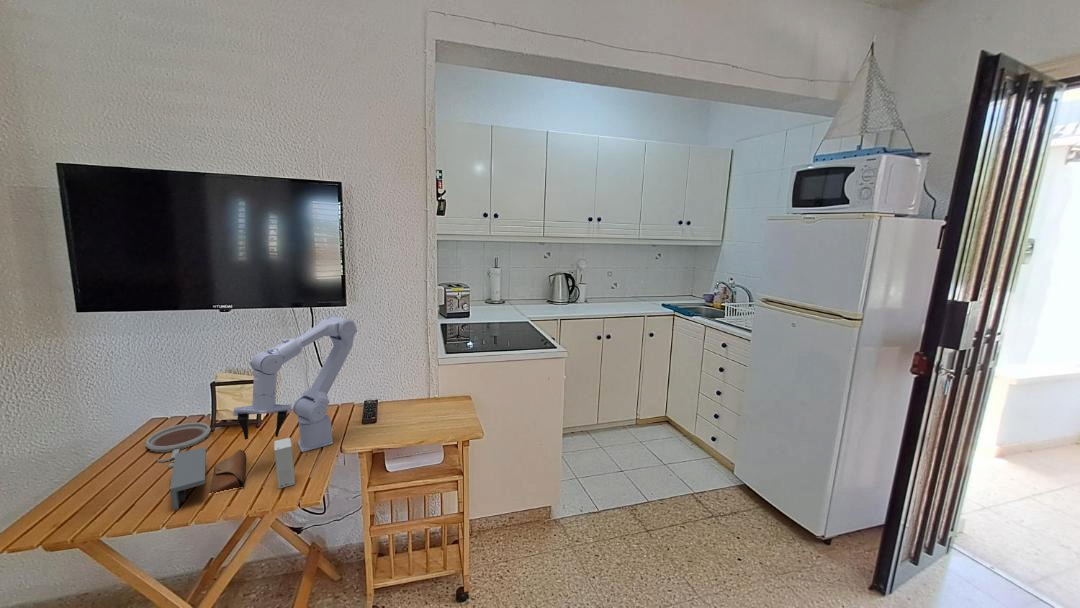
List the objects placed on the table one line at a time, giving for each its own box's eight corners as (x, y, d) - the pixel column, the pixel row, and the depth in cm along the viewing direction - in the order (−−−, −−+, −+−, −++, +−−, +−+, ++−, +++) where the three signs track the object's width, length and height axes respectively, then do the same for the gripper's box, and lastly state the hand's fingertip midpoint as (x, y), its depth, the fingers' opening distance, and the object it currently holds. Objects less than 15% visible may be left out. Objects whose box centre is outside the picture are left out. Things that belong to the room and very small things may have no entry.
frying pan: (132, 471, 124) (149, 428, 146) (133, 480, 124) (150, 436, 147) (206, 454, 133) (212, 417, 155) (207, 462, 134) (213, 424, 156)
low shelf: (208, 465, 131) (205, 446, 129) (207, 500, 115) (204, 479, 114) (178, 472, 126) (175, 453, 125) (173, 510, 111) (170, 489, 110)
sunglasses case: (212, 464, 131) (223, 444, 131) (238, 469, 135) (249, 450, 135) (206, 497, 116) (219, 474, 117) (235, 502, 120) (248, 479, 121)
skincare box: (295, 484, 122) (291, 446, 120) (278, 489, 120) (273, 450, 118) (294, 473, 128) (290, 436, 125) (277, 478, 125) (273, 440, 123)
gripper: (232, 398, 121) (230, 444, 122) (292, 395, 128) (289, 439, 129) (236, 390, 127) (233, 435, 128) (292, 388, 134) (289, 430, 135)
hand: (261, 436), depth 129 cm, fingers open, 7 cm apart
